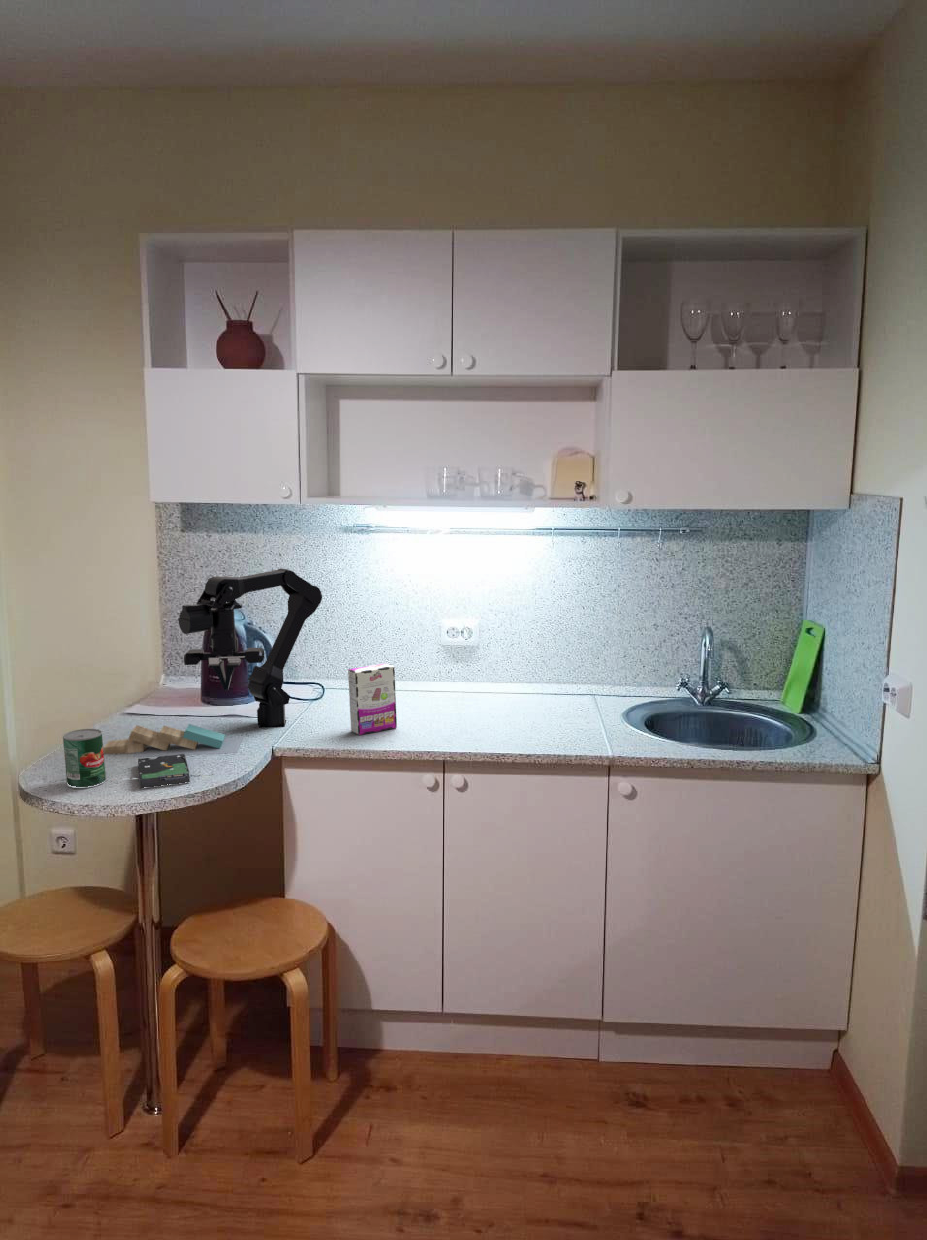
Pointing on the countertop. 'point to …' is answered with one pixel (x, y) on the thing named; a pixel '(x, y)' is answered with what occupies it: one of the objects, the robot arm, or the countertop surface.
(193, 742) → the maple tile
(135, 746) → the maple tile
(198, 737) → the teal tile
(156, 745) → the maple tile
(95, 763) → the canned tomato
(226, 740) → the slate mat
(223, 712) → the countertop surface
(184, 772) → the disk drive
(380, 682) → the candy bar box
